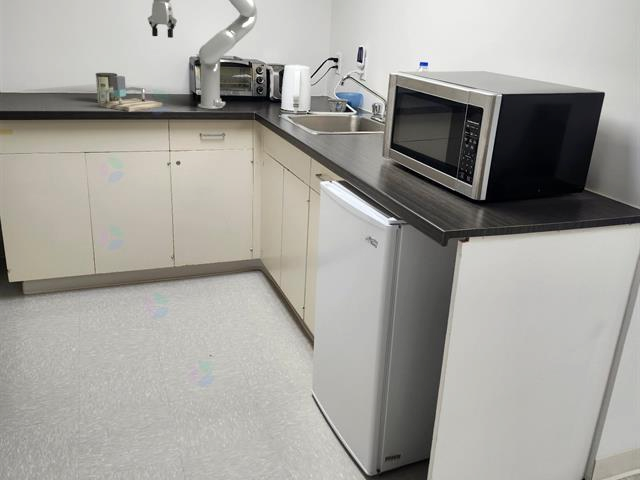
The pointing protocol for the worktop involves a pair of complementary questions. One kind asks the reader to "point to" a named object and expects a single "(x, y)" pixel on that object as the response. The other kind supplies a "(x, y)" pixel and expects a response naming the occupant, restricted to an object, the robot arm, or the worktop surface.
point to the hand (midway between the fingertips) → (162, 36)
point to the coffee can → (105, 86)
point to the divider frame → (126, 90)
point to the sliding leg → (119, 87)
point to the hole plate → (131, 104)
